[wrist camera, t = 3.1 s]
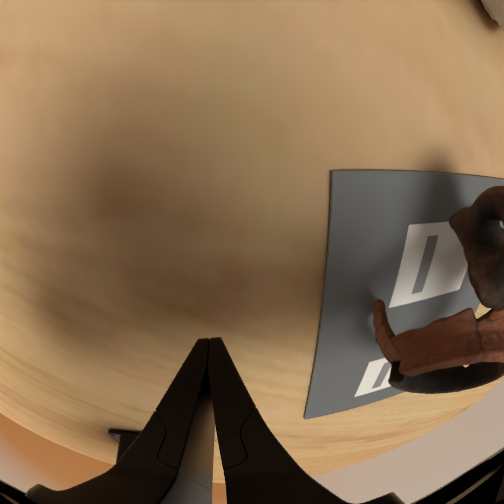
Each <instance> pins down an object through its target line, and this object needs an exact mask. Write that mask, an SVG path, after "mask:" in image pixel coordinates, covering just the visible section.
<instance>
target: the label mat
mask: <svg viewBox="0 0 504 504" xmlns="http://www.w3.org/2000/svg"><path fill="white" fill-rule="evenodd" d="M493 186H504V179H501V178H494V177H486V176H478V175H468V174H458V173H445V172H430V171H410V170H331V194H330V217H329V235H328V249H327V261H326V273H325V283H324V293H323V301H322V310H321V318H320V326H319V333H318V340H317V347H316V353H315V360H314V366H313V372H312V377H311V383H310V388H309V394H308V399H307V404H306V409H305V414H304V419H310V418H315V417H320V416H324V415H329V414H333V413H337V412H341V411H345V410H349V409H353V408H356V407H360V406H363V405H367V404H370V403H373V402H376V401H380V400H383V399H386V398H389V397H391V396H394V395H397V394H400V393H403V392H405V391H401V390H398V389H395V388H394V387H392V386H391V385H390V384H389V383H388V379H389V377H390V371H391V364H390V363H389V362H388V361H387V360H386V358H385V357H384V355H383V354H382V352H381V350H380V347H379V345H378V344H377V342H376V339H375V338H376V337H375V328H374V326H373V319H374V316H373V311H372V310H373V306H374V303H375V301H376V300H377V299H381V300H382V301H384V303H385V306H386V314H387V318H388V322H389V325H390V327H391V329H392V330H393V332H394V334H395V336H396V335H398V334H400V333H403V332H405V331H407V330H410V329H419V328H423V327H425V326H427V325H429V324H430V323H431V322H432V321H434V320H437V319H439V318H442V317H449V316H452V315H454V314H456V313H458V312H460V311H462V310H464V309H467V308H472V309H473V312H474V314H475V312H476V310H477V308H478V306H479V304H480V301H479V299H478V298H477V296H476V293H475V291H474V288H473V287H472V285H471V283H470V280H469V277H468V270H467V266H468V263H467V261H466V258H465V255H464V251H463V247H462V245H461V243H460V241H459V239H458V237H457V235H456V233H455V232H454V230H453V229H452V228H451V226H450V224H449V218H450V217H451V216H452V215H453V214H454V213H456V212H458V211H459V210H461V209H463V208H467V207H471V206H472V204H473V203H474V201H475V200H476V199H477V197H478V196H479V195H480V194H481V193H482V192H483V191H485V190H486V189H488V188H490V187H493ZM500 226H501V227H502V228H503V229H504V226H503V223H502V221H500Z"/></svg>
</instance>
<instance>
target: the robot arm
mask: <svg viewBox="0 0 504 504" xmlns="http://www.w3.org/2000/svg"><path fill="white" fill-rule="evenodd" d="M215 425H216V432H217V438H218V444H219V449H220V455H221V460H222V466H223V470H224V476H225V483H226V495H227V504H352V503H348V502H346V501H344V500H342V499H340V498H339V497H338V496H336V495H335V494H333V493H332V492H330V491H329V490H328V489H326V488H325V487H323V486H322V485H321V484H319V483H318V482H316V481H315V480H314V479H313V478H311V477H310V476H309V475H308V474H307V473H306V472H305V471H304V470H303V469H302V468H301V467H300V466H299V465H298V464H297V463H296V462H295V461H294V460H293V458H292V457H291V456H290V455H289V454H288V452H287V451H286V450H285V449H284V448H283V446H282V445H281V444H280V443H279V442H278V440H277V439H276V438H275V436H274V435H273V434H272V432H271V431H270V430H269V428H268V427H267V425H266V423H265V422H264V420H263V418H262V417H261V415H260V413H259V411H258V409H257V408H256V406H255V404H254V402H253V400H252V398H251V396H250V395H249V393H248V391H247V389H246V387H245V385H244V383H243V381H242V379H241V377H240V375H239V373H238V371H237V369H236V367H235V365H234V363H233V361H232V359H231V357H230V355H229V353H228V351H227V349H226V346H225V344H224V342H223V340H222V338H221V337H216V338H210V339H209V338H203V339H198V340H197V342H196V343H195V345H194V347H193V348H192V350H191V352H190V353H189V355H188V357H187V358H186V360H185V362H184V363H183V365H182V367H181V368H180V370H179V372H178V373H177V375H176V376H175V378H174V380H173V381H172V383H171V385H170V386H169V388H168V390H167V391H166V393H165V395H164V396H163V398H162V400H161V401H160V403H159V405H158V406H157V408H156V411H154V413H153V415H152V416H151V418H150V420H149V421H148V423H147V424H146V426H145V427H144V429H143V430H142V432H141V433H140V434H139V433H130V432H122V431H115V430H109V431H108V434H109V435H110V436H111V437H112V438H114V439H115V440H116V441H117V442H119V445H118V452H117V459H116V464H115V465H114V466H113V467H112V468H111V469H110V470H108V471H107V472H105V473H103V474H101V475H99V476H97V477H95V478H93V479H91V480H89V481H86V482H84V483H81V484H79V485H77V486H74V487H72V488H69V489H66V490H61V491H55V490H51V489H49V488H47V487H45V486H43V485H41V484H37V485H35V486H33V487H32V488H30V489H29V490H28V491H27V493H25V492H23V491H21V490H19V489H17V488H15V487H13V486H11V485H9V484H7V483H6V482H4V481H2V480H0V504H212V480H213V455H214V433H215ZM360 504H404V503H403V501H402V500H400V498H399V497H398V496H396V494H395V493H393V492H391V493H388V494H386V495H383V496H381V497H378V498H376V499H373V500H370V501H367V502H364V503H360ZM411 504H504V448H502V449H500V450H499V451H498V452H496V453H495V454H493V455H492V456H490V457H488V458H487V459H485V460H484V461H482V462H480V463H479V464H478V465H476V466H474V467H473V468H471V469H469V470H468V471H466V472H465V473H463V474H462V475H460V476H458V477H457V478H455V479H454V480H452V481H451V482H449V483H448V484H446V485H444V486H443V487H441V488H439V489H437V490H436V491H434V492H432V493H430V494H428V495H427V496H425V497H423V498H421V499H419V500H417V501H415V502H413V503H411Z"/></svg>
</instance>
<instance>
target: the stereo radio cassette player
mask: <svg viewBox="0 0 504 504" xmlns="http://www.w3.org/2000/svg"><path fill="white" fill-rule="evenodd" d="M481 2H482V3H483V6H484V9H485V10H486V11H487V12H488V13H489V15H490V17H491V18H492V19H493V20H496V21H497V22H498V24H499V26H500V27H501V28H502V29H503V31H504V0H481Z"/></svg>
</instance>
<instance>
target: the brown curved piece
mask: <svg viewBox="0 0 504 504" xmlns="http://www.w3.org/2000/svg"><path fill="white" fill-rule="evenodd" d="M500 221H502V223H503V226H504V186H493V187H490V188H488V189H486V190H485V191H483V192H482V193H481V194H480V195H479V196H478V197H477V199H476V200H475V201H474V203H473V204H472V206H471V207H467V208H463V209H461V210H459V211H458V212H456V213H454V214H453V215H452V216H451V217H450V218H449V224H450V226H451V228H452V229H453V230H454V232H455V233H456V235H457V237H458V239H459V241H460V243H461V245H462V247H463V251H464V255H465V258H466V261H467V263H468V266H467V270H468V277H469V280H470V283H471V285H472V287H473V288H474V291H475V293H476V296H477V298H478V299H479V301H480V302H481V304H482V305H483V306H485V307H487V308H492V309H491V310H490V311H488V312H487V313H486V314H484V315H483V316H481V317H480V318H478V319H476V318H475V315H474V312H473V309H472V308H467V309H464V310H462V311H460V312H458V313H456V314H454V315H452V316H449V317H442V318H439V319H437V320H434V321H432V322H431V323H430V324H429V325H427V326H425V327H423V328H419V329H410V330H407V331H405V332H403V333H400V334H398V335H396V336H395V334H394V332H393V330H392V329H391V327H390V325H389V322H388V318H387V314H386V306H385V303H384V301H382V300H381V299H377V300H376V301H375V303H374V306H373V310H372V311H373V316H374V319H373V326H374V328H375V337H376V338H375V339H376V342H377V344H378V345H379V347H380V350H381V352H382V354H383V355H384V357H385V358H386V360H387V361H388V362H389V363H390V364H391V371H390V377H389V379H388V383H389V384H390V385H391V386H392V387H394V388H395V389H398V390H401V391H407V392H412V393H425V394H435V393H450V392H459V391H462V390H467V389H471V388H475V387H479V386H482V385H485V384H488V383H490V382H493V381H495V380H497V379H499V378H500V377H502V376H504V229H503V228H502V227H501V226H500ZM469 364H470V365H469ZM463 365H469V366H468V367H466V368H465V367H464V366H463Z"/></svg>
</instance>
